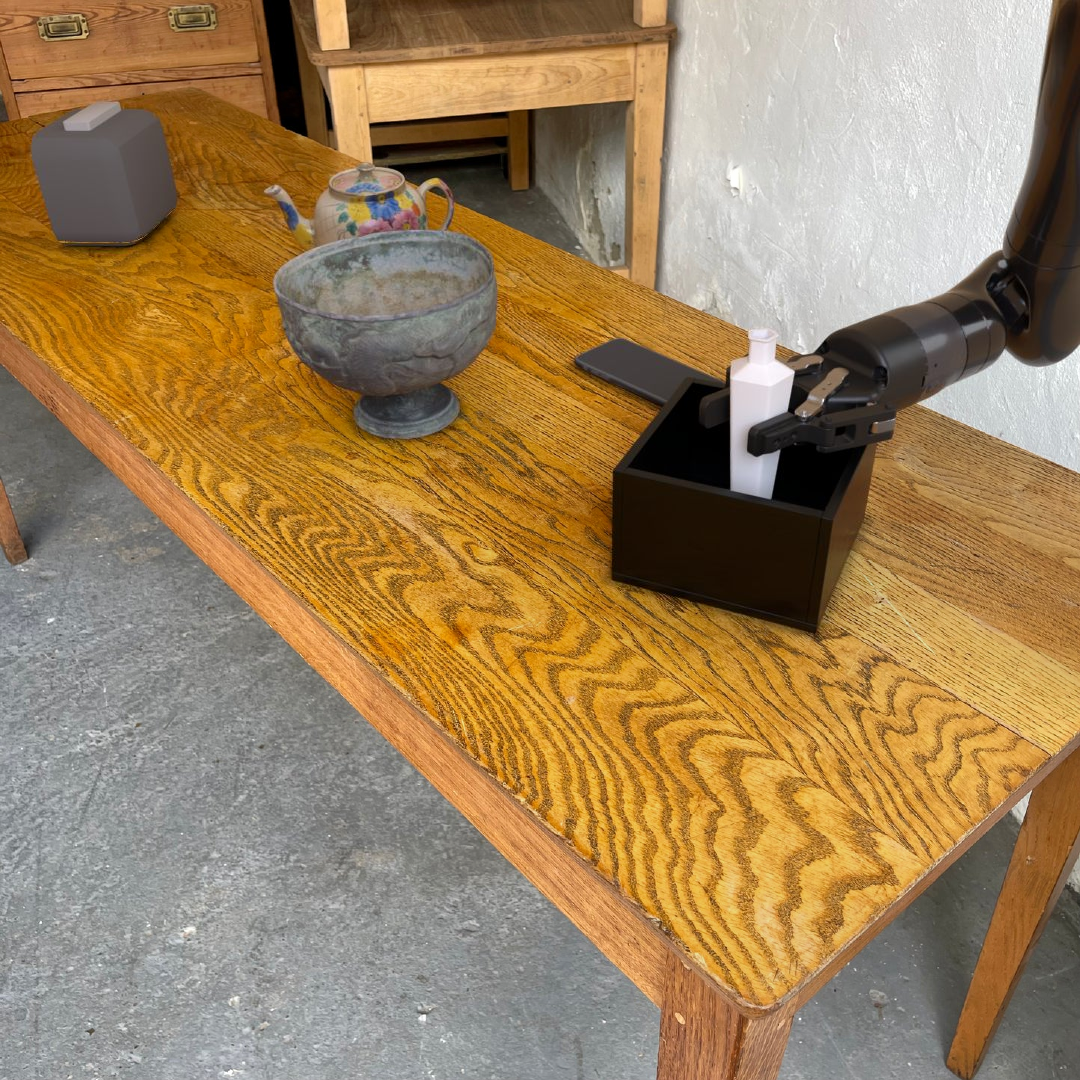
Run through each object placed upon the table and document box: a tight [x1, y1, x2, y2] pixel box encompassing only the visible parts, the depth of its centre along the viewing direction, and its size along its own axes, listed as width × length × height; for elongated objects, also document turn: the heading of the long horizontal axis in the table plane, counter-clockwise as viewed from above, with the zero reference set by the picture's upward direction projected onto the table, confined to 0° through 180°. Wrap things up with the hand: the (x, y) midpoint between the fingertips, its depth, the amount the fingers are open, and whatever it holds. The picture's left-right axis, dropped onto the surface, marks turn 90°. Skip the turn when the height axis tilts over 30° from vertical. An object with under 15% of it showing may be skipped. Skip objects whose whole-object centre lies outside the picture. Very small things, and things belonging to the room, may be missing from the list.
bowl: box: [272, 229, 498, 440], centre depth 101 cm, size 20×19×15 cm
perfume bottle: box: [730, 327, 795, 499], centre depth 80 cm, size 5×4×15 cm
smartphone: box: [573, 337, 725, 407], centre depth 110 cm, size 7×1×15 cm
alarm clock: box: [30, 101, 178, 247], centre depth 145 cm, size 16×11×16 cm
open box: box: [610, 377, 878, 635], centre depth 83 cm, size 16×16×10 cm
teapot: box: [263, 161, 455, 252], centre depth 131 cm, size 20×14×13 cm
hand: (727, 428), depth 78 cm, fingers closed on perfume bottle, 4 cm apart
